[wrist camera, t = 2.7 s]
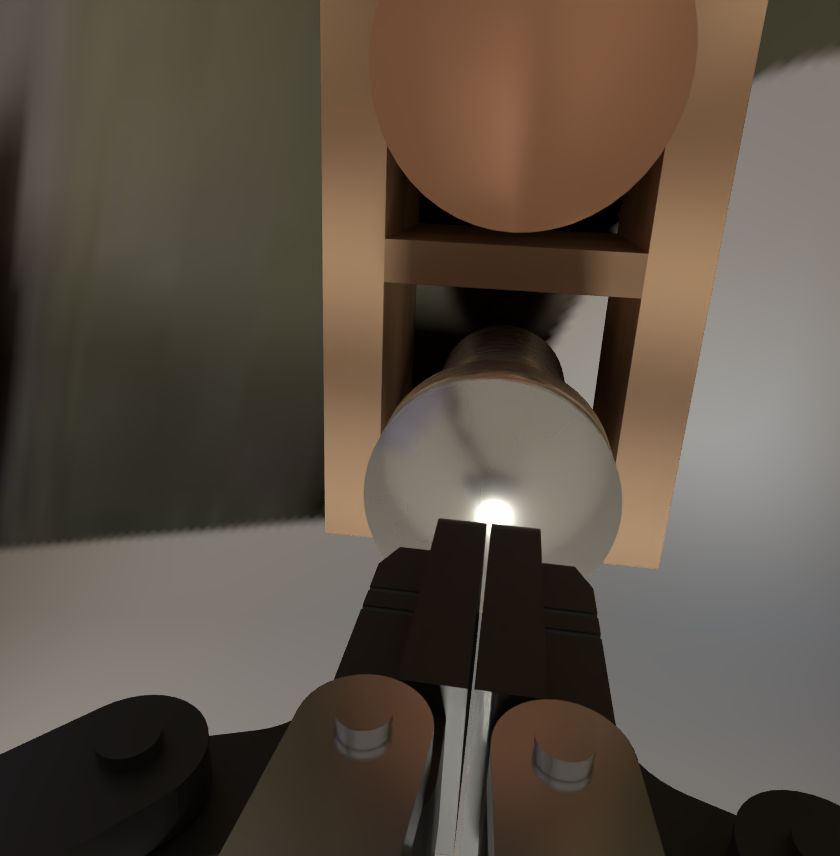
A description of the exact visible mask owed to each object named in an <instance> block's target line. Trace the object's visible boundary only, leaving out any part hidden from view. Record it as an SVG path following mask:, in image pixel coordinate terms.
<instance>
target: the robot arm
mask: <svg viewBox="0 0 840 856" xmlns="http://www.w3.org/2000/svg"><path fill="white" fill-rule="evenodd" d="M486 531H487V523H481V522H472V521H463V520H453V519H444V518H439V519H438V522H437V526H436V530H435V533H434V537H433V541H432V545H431V549H430V550H424V549H415V548H406V547H399V548H398V549H396V550H395V551H394V552H393V553H391V554H390V555H389V556H388V557H386V558H385V559H384V560H383V561H382V562H380V563H379V564H378V567H377V569H376V572H375V575H374V577H373V580H372V582H371V585H370V590H369V591H368V593H367V595H366V598H365V600H364V603H363V608H362V609H361V611H360V613H359V616H358V619H357V621H356V624H355V626H354V629H353V632H352V634H351V637H350V639H349V642H348V645H347V647H346V650H345V652H344V655H343V657H342V660H341V663H340V665H339V668H338V670H337V673H336V676H335V678H334V680H333V681H330V682H327V683H326V684H324V685H322V686H320V687H318V688H317V689H316V690H315V691H313V692H312V693H311V694H309V695H308V697H306V699H305V700H304V701H303V702H302V704H301V705H300V707H299V708H298V710H297V711H296V713H295V715H294V717H293V719H292V721H289V722H287V723H285V724H282V725H279V726H275V727H272V728H267V729H261V730H255V731H248V732H239V733H230V734H222V735H213V736H209V734H208V726H207V723H206V720H205V718H204V717H203V715H202V714H201V712H200V711H198V709H197V708H195V707H194V706H193V705H191V704H189V703H188V702H186V701H184V700H181V699H178V698H175V697H170V696H165V695H144V696H137V697H131V698H126V699H123V700H120V701H116V702H113V703H111V704H108V705H106V706H104V707H102V708H99V709H97V710H95V711H93V712H91V713H88V714H86V715H84V716H82V717H80V718H78V719H76V720H73V721H71V722H69V723H67V724H65V725H63V726H60V727H58V728H56V729H54V730H52V731H50V732H48V733H45V734H43V735H41V736H39V737H37V738H35V739H33V740H30V741H28V742H26V743H24V744H22V745H20V746H17V747H15V748H13V749H11V750H9V751H7V752H5V753H2V754H0V856H435V854H440V855H446V856H454V847H455V837H456V828H457V820H458V810H459V801H460V792H461V783H462V773H463V764H464V755H465V746H466V736H467V727H468V718H469V709H470V699H471V690H472V681H473V672H474V662H475V652H476V642H477V632H478V622H479V611H480V600H481V589H482V577H483V566H484V554H485V543H486ZM600 636H601V633H600V627H599V621H598V618H597V608H596V603H595V596H594V590H593V588H592V587H591V585H590V584H589V583H588V582H587V581H586V579H585V578H584V577H583V576H582V574H581V573H580V572H579V571H578V570H577V568H576V567H574V566H565V565H557V564H548V563H542V548H541V529H538V528H529V527H519V526H510V525H501V524H492V523H491V533H490V542H489V552H488V562H487V572H486V582H485V591H484V601H483V611H482V621H481V630H480V640H479V650H478V660H477V670H476V680H475V689H474V700H473V712H472V723H471V734H470V745H469V756H468V757H469V758H468V768H467V779H466V790H465V802H464V813H463V824H462V835H461V846H460V856H840V806H839V805H837V804H835V803H833V802H831V801H828V800H826V799H823V798H820V797H817V796H814V795H811V794H807V793H802V792H798V791H789V790H771V791H767V792H762V793H759V794H757V795H755V796H753V797H751V798H749V799H748V800H747V801H746V802H745V803H743V805H742V806H741V808H740V809H739V811H738V813H737V815H734V814H732V813H729V812H727V811H725V810H722V809H720V808H717V807H715V806H712V805H710V804H708V803H705V802H703V801H701V800H698V799H696V798H693V797H691V796H688V795H686V794H684V793H682V792H680V791H678V790H676V789H674V788H672V787H670V786H669V785H667V784H665V783H663V782H662V781H660V780H659V779H658V778H656V777H655V776H654V775H652V774H651V773H649V772H648V771H647V770H646V769H645V768H644V767H643V766H641V764H639V763H638V759H637V756H636V754H635V751H634V749H633V747H632V745H631V744H630V742H629V740H628V739H627V737H626V736H625V735H624V734H623V733H622V732H621V730H620V729H619V728H617V727H616V724H615V719H614V712H613V707H612V701H611V695H610V688H609V682H608V676H607V669H606V664H605V657H604V651H603V645H602V640H601V639H600Z"/></svg>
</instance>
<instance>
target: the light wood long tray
mask: <svg viewBox="0 0 840 856" xmlns="http://www.w3.org/2000/svg"><path fill="white" fill-rule="evenodd" d="M378 3H379V0H320V25H321V131H322V238H323V344H324V450H325V532H326V533H334V534H343V535H352V536H362V537H370V538H373V536H372V534H371V531H370V528H369V525H368V522H367V518H366V513H365V508H364V494H363V491H364V479H365V474H366V469H367V465H368V462H369V459H370V457H371V454H372V451H373V449H374V447H375V445H376V443H377V441H378V440H379V438H380V436H381V434H382V432H383V431H384V429H385V427H386V425H387V423H388V421H389V420H390V418H391V416H392V414H393V413H394V411H395V409H396V408H397V407H398V405H399V404H400V403H401V402H402V400H403V399H404V398H405V397H406V396H407V395H408V394H409V393H410V392H411V391H412V380H413V354H414V329H415V303H416V284H423V285H439V286H454V287H470V288H485V289H501V290H516V291H532V292H547V293H563V294H578V295H594V296H609V298H608V305H607V311H606V319H605V326H604V333H603V340H602V347H601V354H600V362H599V369H598V376H597V384H596V390H595V398H594V405H593V411H594V412H595V413H596V415H597V417H598V419H599V420H600V422H601V424H602V426H603V428H604V430H605V433H606V436H607V438H608V441H609V444H610V447H611V450H612V454H613V457H614V460H615V463H616V466H617V469H618V473H619V478H620V482H621V487H622V502H623V503H622V515H621V521H620V525H619V529H618V533H617V536H616V538H615V541H614V543H613V546H612V548H611V550H610V551H609V553H608V555H607V557H606V558H605V560H604V561H603V563H607V564H616V565H626V566H634V567H645V568H653V569H659V563H660V558H661V553H662V548H663V543H664V537H665V532H666V527H667V522H668V517H669V512H670V506H671V501H672V496H673V491H674V486H675V480H676V475H677V470H678V465H679V460H680V455H681V449H682V444H683V439H684V434H685V429H686V423H687V418H688V413H689V408H690V403H691V397H692V392H693V387H694V382H695V377H696V372H697V366H698V361H699V356H700V351H701V346H702V340H703V335H704V330H705V325H706V320H707V315H708V309H709V304H710V299H711V293H712V289H713V283H714V278H715V273H716V268H717V263H718V257H719V252H720V247H721V242H722V237H723V232H724V226H725V221H726V216H727V210H728V205H729V200H730V195H731V190H732V185H733V179H734V174H735V169H736V164H737V159H738V154H739V149H740V143H741V138H742V133H743V128H744V123H745V117H746V112H747V107H748V102H749V97H750V92H751V86H752V81H753V76H754V71H755V66H756V60H757V55H758V50H759V45H760V40H761V34H762V29H763V24H764V19H765V14H766V9H767V3H768V0H695V6H696V13H697V24H698V48H697V58H696V67H695V73H694V77H693V82H692V86H691V90H690V94H689V97H688V100H687V103H686V106H685V109H684V111H683V114H682V117H681V119H680V121H679V123H678V125H677V127H676V129H675V131H674V133H673V135H672V137H671V139H670V141H669V142H668V144H667V145H666V147H665V148H664V150H663V152H662V153H661V155H660V156H659V158H658V159H657V160H656V161H655V163H654V164H653V165H652V166H651V168H650V169H649V170H648V171H647V173H646V174H645V175H644V176H643V177H642V178H641V179H640V180H639V181H638V182H637V183H636V184H635V185H634V186H633V187H632V188H631V189H630V190H629V191H628V192H626V193H625V194H624V195H623V197H622V204H621V211H620V218H619V225H618V232H617V234H613V233H595V232H576V231H557V230H545V231H538V232H521V233H512V232H504V231H496V230H491V229H487V228H483V227H480V226H464V225H446V224H427V223H419V200H420V191H419V190H418V189H417V188H416V187H415V185H414V184H413V183H412V182H411V181H410V180H409V179H408V177H407V176H406V175H405V173H404V172H403V171H402V169H401V168H400V167H399V165H398V164H397V162H396V160H395V159H394V157H393V155H392V153H391V152H390V150H389V148H388V146H387V144H386V141H385V139H384V137H383V134H382V132H381V129H380V127H379V124H378V120H377V116H376V113H375V109H374V106H373V100H372V93H371V87H370V73H369V53H370V39H371V33H372V27H373V22H374V17H375V12H376V9H377V6H378Z"/></svg>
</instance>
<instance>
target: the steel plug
mask: <svg viewBox="0 0 840 856" xmlns="http://www.w3.org/2000/svg"><path fill="white" fill-rule="evenodd" d="M363 494H364V508H365V513H366V518H367V522H368V525H369V528H370V531H371V534H372V536H373V538H374V540H375V542H376V544H377V546H378V548H379V550H380V551H381V553H382V554H383V556H384V557H385V558H386V557H388V556H389V555H390V554H391V553H393V552H394V551H395V550H396V549H398V548H399V547H406V548H415V549H424V550H430V549H431V545H432V541H433V537H434V533H435V530H436V526H437V522H438V519H439V518H444V519H453V520H463V521H472V522H481V523H487V531H486V543H485V554H484V566H483V577H482V589H481V600H480V611H479V613H482V611H483V601H484V591H485V582H486V572H487V562H488V552H489V542H490V533H491V523H492V524H501V525H510V526H519V527H529V528H538V529H541V548H542V563H548V564H557V565H565V566H574V567H576V568H577V570H578V571H579V572H580V573H581V574H582V576H583V577H584V578H585V579H586V581H587V580H588V579H589V578H590V577H591V575H593V574H594V573H595V572H596V570H597V569H598V568H599V566H600V565H601V564H602V563H603V561H604V560H605V558H606V557H607V555H608V553H609V551H610V550H611V548H612V546H613V543H614V541H615V538H616V536H617V533H618V529H619V525H620V521H621V515H622V503H623V502H622V487H621V482H620V478H619V473H618V469H617V466H616V463H615V460H614V457H613V454H612V450H611V447H610V444H609V441H608V438H607V436H606V433H605V430H604V428H603V426H602V424H601V422H600V420H599V419H598V417H597V415H596V413H595V412H594V411H593V409H592V408H591V407H590V406H589V404H588V403H587V402H586V401H585V400H584V399H583V398H582V397H581V396H580V395H579V394H578V392H577V391H575V390H574V389H573V388H571V387H570V386H569V385H568V384H566V383H565V381H564V376H563V372H562V368H561V365H560V362H559V360H558V358H557V356H556V354H555V353H554V351H553V350H552V349H551V347H550V346H549V345H548V344H547V343H546V342H545V341H544V340H542V339H541V338H540V337H539V336H537V335H535V334H534V333H532V332H530V331H527V330H525V329H522V328H519V327H514V326H505V325H499V326H491V327H487V328H483V329H480V330H478V331H475V332H474V333H472V334H470V335H468V336H467V337H466V338H464V339H463V340H462V341H461V342H460V343H458V344H457V345H456V347H455V348H454V349H453V350H452V352H451V353H450V355H449V357H448V358H447V361H446V363H445V366H444V368H443V370H442V371H440V372H438V373H437V374H435V375H433V376H431V377H429V378H427V379H426V380H425V381H423V382H422V383H421V384H419V385H418V386H416V387H415V388H414V389H413V390H412V391H411V392H410V393H409V394H408V395H407V396H406V397H405V398H404V399H403V400H402V402H401V403H400V404H399V405H398V407H397V408H396V409H395V411H394V413H393V414H392V416H391V418H390V420H389V421H388V423H387V425H386V427H385V429H384V431H383V432H382V434H381V436H380V438H379V440H378V441H377V443H376V445H375V447H374V449H373V451H372V454H371V457H370V459H369V462H368V465H367V469H366V474H365V479H364V491H363Z"/></svg>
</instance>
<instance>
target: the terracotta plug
mask: <svg viewBox="0 0 840 856" xmlns="http://www.w3.org/2000/svg"><path fill="white" fill-rule="evenodd" d="M697 48H698V24H697V13H696V6H695V0H379V3H378V6H377V9H376V12H375V17H374V22H373V27H372V33H371V39H370V53H369V73H370V87H371V93H372V100H373V106H374V109H375V113H376V116H377V120H378V124H379V127H380V129H381V132H382V134H383V137H384V139H385V141H386V144H387V146H388V148H389V150H390V152H391V153H392V155H393V157H394V159H395V160H396V162H397V164H398V165H399V167H400V168H401V169H402V171H403V172H404V173H405V175H406V176H407V177H408V179H409V180H410V181H411V182H412V183H413V184H414V185H415V187H416V188H417V189H418V190H419V191H420V192H421V193H422V194H423V195H424V196H425V197H427V198H428V199H429V200H431V201H432V202H433V203H434V204H436V205H437V206H438V207H440V208H441V209H443V210H444V211H446V212H448V213H450V214H451V215H453V216H455V217H456V218H459V219H461V220H463V221H466V222H468V223H471V224H473V225H476V226H480V227H483V228H487V229H491V230H496V231H504V232H512V233H521V232H538V231H545V230H552V229H556V228H559V227H563V226H566V225H570V224H573V223H575V222H578V221H580V220H582V219H585V218H587V217H589V216H592V215H593V214H595V213H597V212H599V211H600V210H602V209H604V208H605V207H607V206H609V205H610V204H612V203H613V202H614V201H616V200H617V199H618V198H620V197H621V196H622V195H624V194H625V193H626V192H628V191H629V190H630V189H631V188H632V187H633V186H634V185H635V184H636V183H637V182H638V181H639V180H640V179H641V178H642V177H643V176H644V175H645V174H646V173H647V171H648V170H649V169H650V168H651V166H652V165H653V164H654V163H655V161H656V160H657V159H658V158H659V156H660V155H661V153H662V152H663V150H664V148H665V147H666V145H667V144H668V142H669V141H670V139H671V137H672V135H673V133H674V131H675V129H676V127H677V125H678V123H679V121H680V119H681V117H682V114H683V111H684V109H685V106H686V103H687V100H688V97H689V94H690V90H691V86H692V82H693V77H694V73H695V67H696V58H697Z"/></svg>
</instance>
